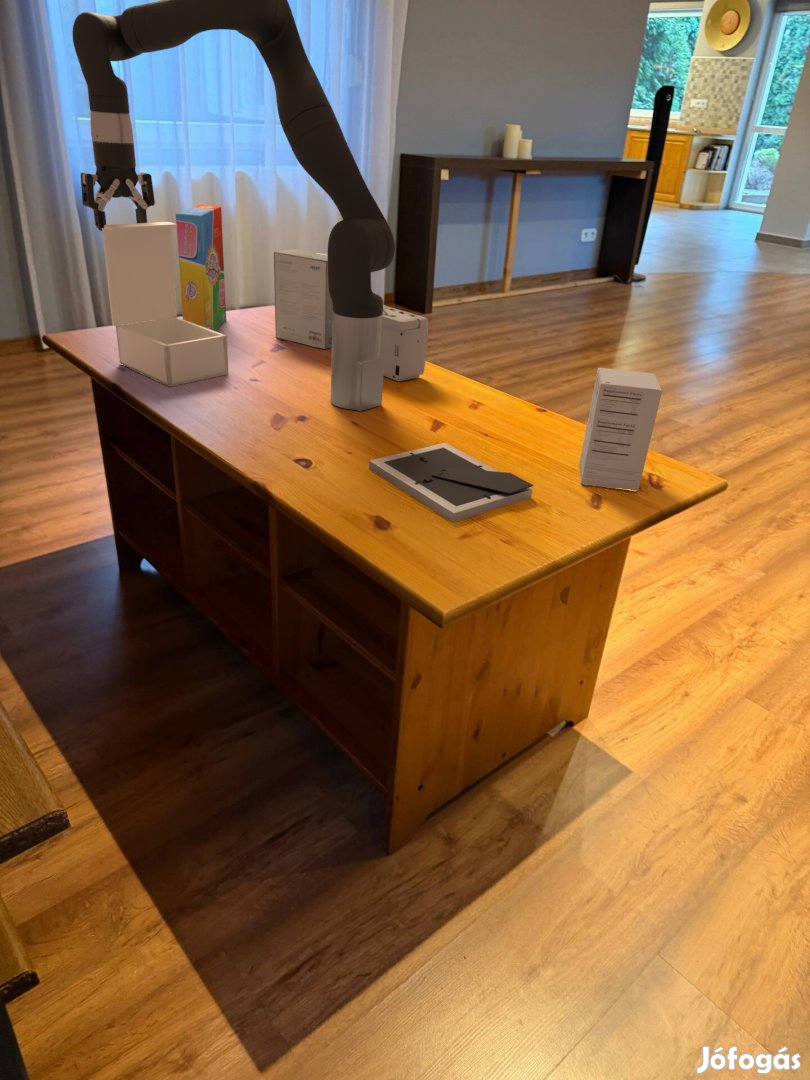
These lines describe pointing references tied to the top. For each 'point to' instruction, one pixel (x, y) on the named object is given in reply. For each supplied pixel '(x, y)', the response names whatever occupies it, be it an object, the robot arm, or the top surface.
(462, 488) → the picture frame
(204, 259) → the game box
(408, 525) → the top surface
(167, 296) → the mailer lid
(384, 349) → the stereo radio cassette player
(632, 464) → the supplement box
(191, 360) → the mailer box
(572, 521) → the top surface
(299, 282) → the hard drive box
